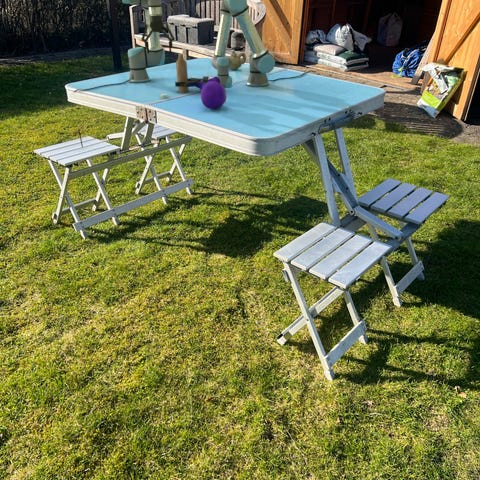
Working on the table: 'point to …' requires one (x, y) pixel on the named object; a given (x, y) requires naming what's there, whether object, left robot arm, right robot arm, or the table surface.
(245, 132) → the table surface
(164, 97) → the cap
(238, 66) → the beige rounded piece
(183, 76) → the bottle
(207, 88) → the toy
